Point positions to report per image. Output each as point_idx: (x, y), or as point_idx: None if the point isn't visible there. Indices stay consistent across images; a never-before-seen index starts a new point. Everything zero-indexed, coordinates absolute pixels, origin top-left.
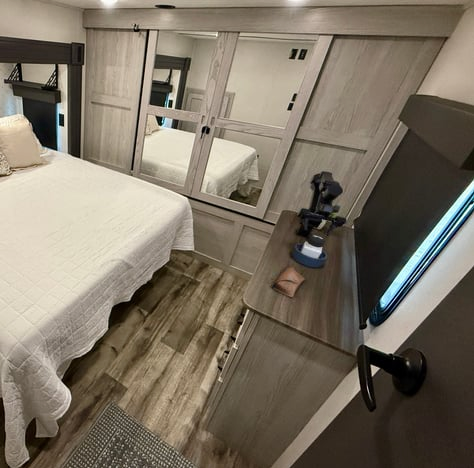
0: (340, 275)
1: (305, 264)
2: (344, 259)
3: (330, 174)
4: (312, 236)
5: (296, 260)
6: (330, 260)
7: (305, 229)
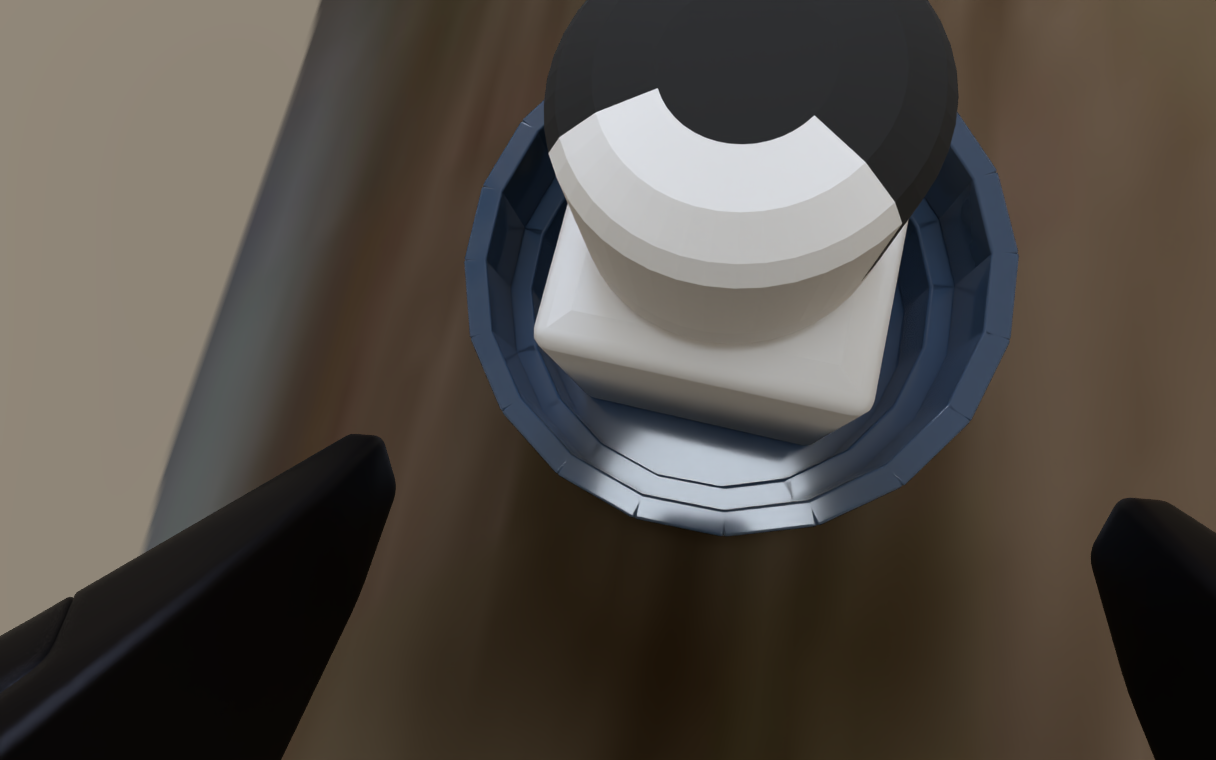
0: (362, 144)
1: None
2: None
3: None
4: (905, 97)
5: None
6: None
7: (1173, 511)
